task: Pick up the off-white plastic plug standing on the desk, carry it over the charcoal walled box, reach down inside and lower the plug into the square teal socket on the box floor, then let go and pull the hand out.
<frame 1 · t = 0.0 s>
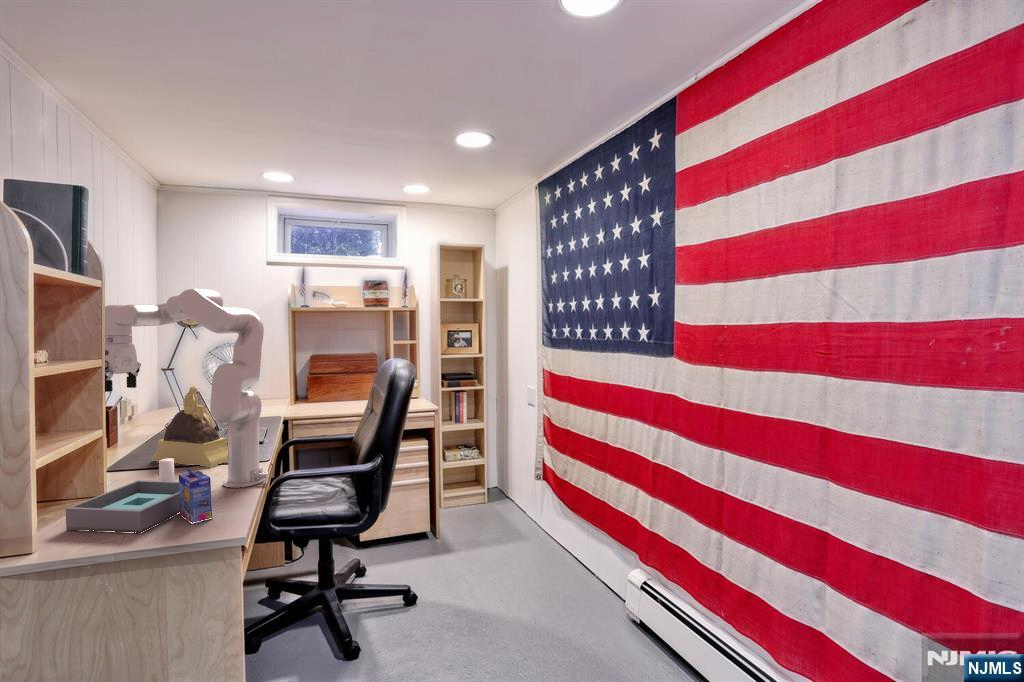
hand: (119, 389, 172), 31 cm above the table, tool pointing down, fingers open, 9 cm apart
ink cartridge box: (195, 518, 140), on the table
statue on rock pedestal: (195, 460, 196), on the table
storage box: (139, 515, 141), on the table
plug: (167, 490, 162), on the table
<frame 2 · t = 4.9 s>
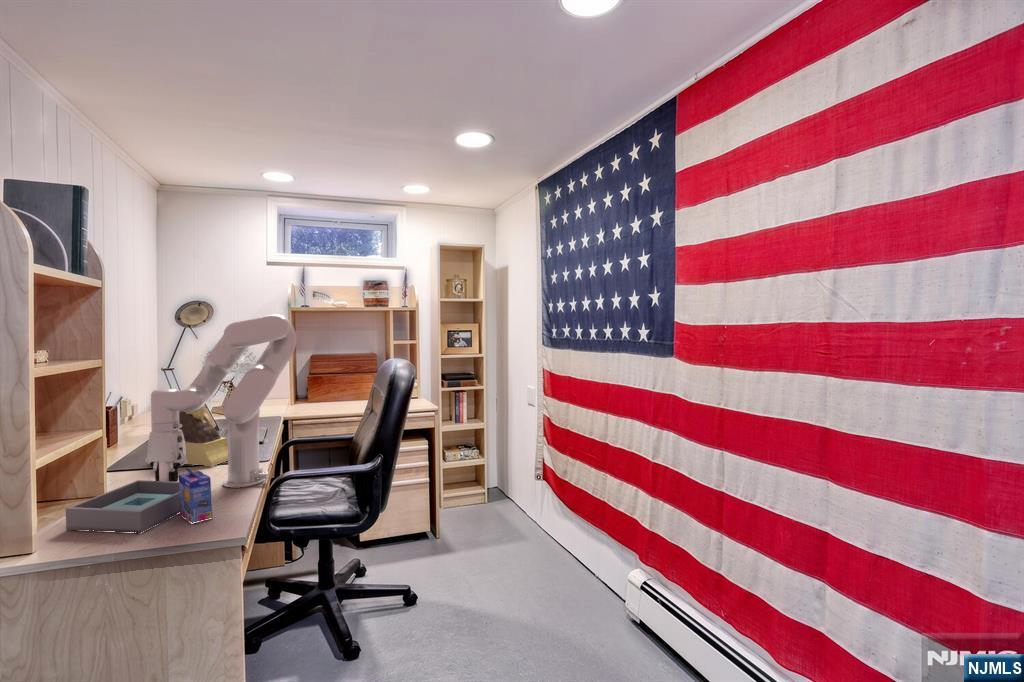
hand: (166, 481, 162), 3 cm above the table, tool pointing down, fingers closed on plug, 4 cm apart
plug: (167, 490, 162), on the table, touching gripper
everything else where it was.
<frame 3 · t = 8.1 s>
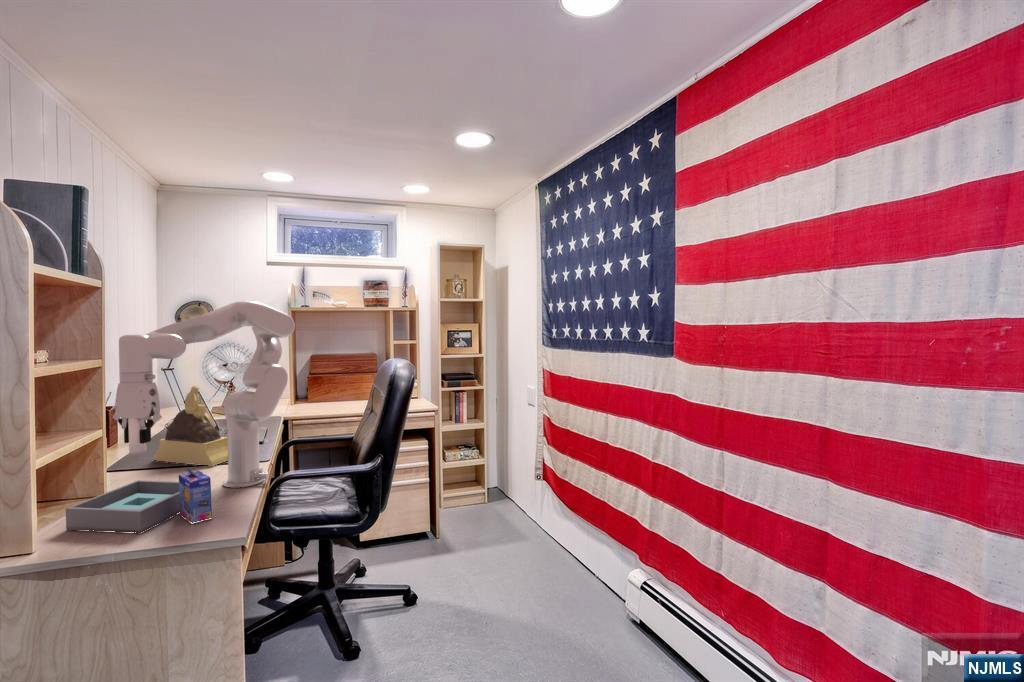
hand: (137, 441, 141), 21 cm above the table, tool pointing down, fingers closed on plug, 4 cm apart
plug: (137, 451, 141), point 18 cm above the table, touching gripper
everything else where it was.
when the fingers open (5 cm above the table, at t = 11.8 s): plug drops 1 cm, resting on storage box.
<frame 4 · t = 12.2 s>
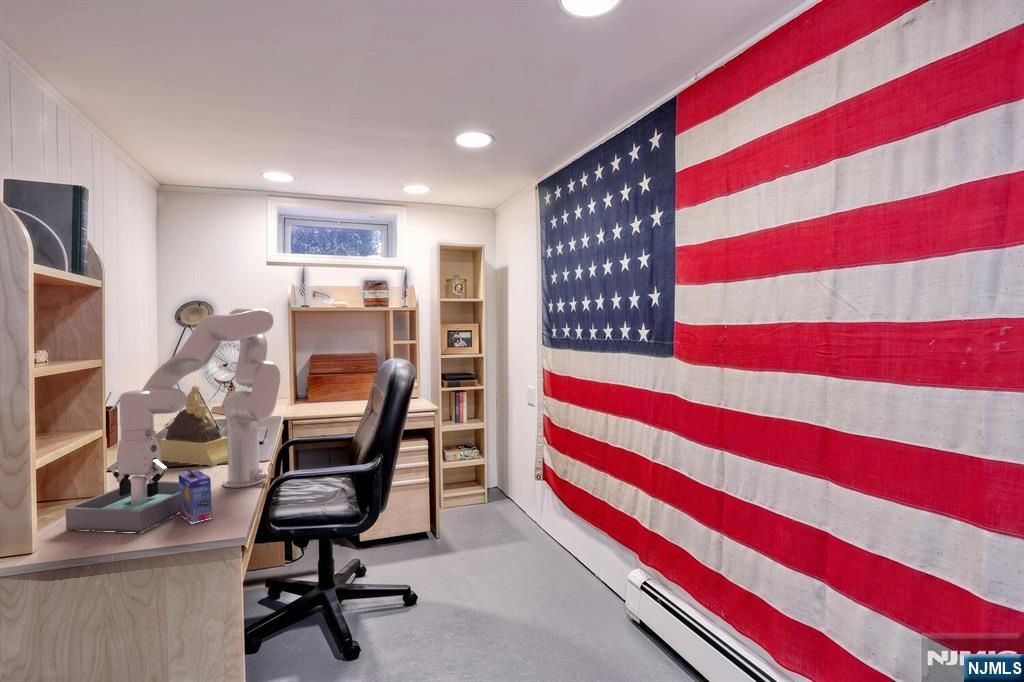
hand: (138, 494, 141), 6 cm above the table, tool pointing down, fingers open, 7 cm apart
plug: (139, 511, 141), point 1 cm above the table, touching storage box
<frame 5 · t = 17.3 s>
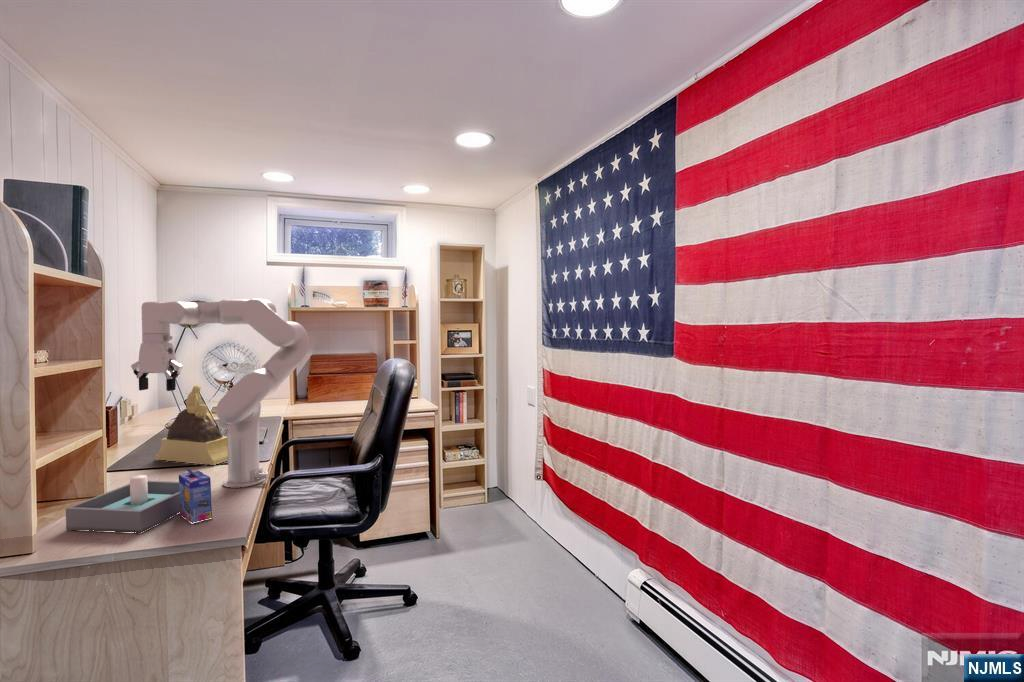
hand: (157, 390, 165), 32 cm above the table, tool pointing down, fingers open, 9 cm apart
at the end: plug 0.0 cm off-centre on the storage box, point 1.0 cm above the storage box's base; the gripper is holding nothing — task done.
